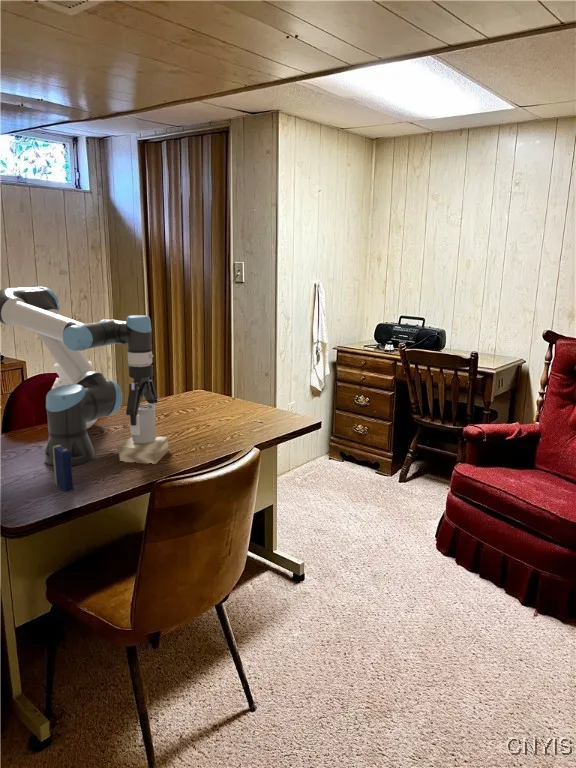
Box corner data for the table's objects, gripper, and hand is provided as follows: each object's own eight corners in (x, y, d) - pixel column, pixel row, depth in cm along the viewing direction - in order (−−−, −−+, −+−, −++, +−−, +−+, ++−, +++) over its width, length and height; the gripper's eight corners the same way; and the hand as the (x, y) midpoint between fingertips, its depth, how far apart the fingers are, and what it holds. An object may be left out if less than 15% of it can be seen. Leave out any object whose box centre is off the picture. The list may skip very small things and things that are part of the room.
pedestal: (119, 461, 183) (119, 446, 182) (134, 449, 195) (133, 435, 193) (155, 463, 181) (155, 449, 180) (168, 451, 193) (167, 437, 192)
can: (158, 438, 190) (157, 404, 187) (151, 446, 183) (149, 410, 180) (137, 437, 191) (135, 403, 188) (128, 444, 184) (126, 409, 181)
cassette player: (73, 490, 161) (70, 450, 158) (65, 492, 159) (62, 452, 157) (62, 482, 166) (59, 443, 163) (54, 484, 165) (51, 445, 162)
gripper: (136, 372, 168) (139, 440, 173) (165, 357, 193) (167, 417, 197) (112, 371, 169) (116, 439, 174) (144, 356, 193) (146, 416, 198)
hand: (143, 428), depth 186 cm, fingers open, 13 cm apart
